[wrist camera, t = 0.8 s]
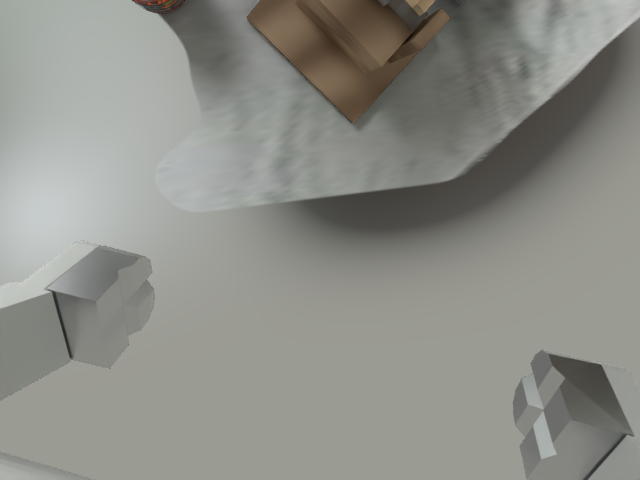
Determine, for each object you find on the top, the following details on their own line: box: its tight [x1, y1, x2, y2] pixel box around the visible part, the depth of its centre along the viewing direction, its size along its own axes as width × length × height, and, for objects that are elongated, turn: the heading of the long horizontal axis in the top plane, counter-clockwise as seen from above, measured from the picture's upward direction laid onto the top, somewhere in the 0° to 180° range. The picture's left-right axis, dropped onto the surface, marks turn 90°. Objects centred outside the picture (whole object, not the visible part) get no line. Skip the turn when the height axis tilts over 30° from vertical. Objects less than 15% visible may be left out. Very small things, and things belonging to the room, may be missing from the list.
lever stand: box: [247, 0, 450, 123], centre depth 37 cm, size 14×12×11 cm
